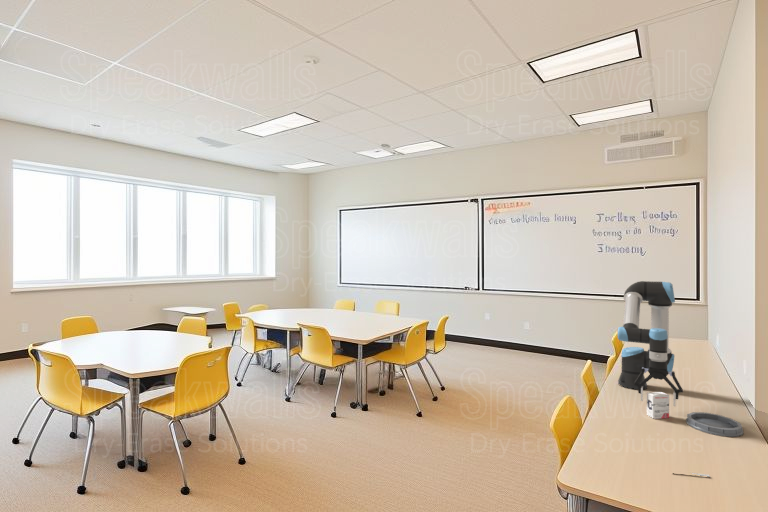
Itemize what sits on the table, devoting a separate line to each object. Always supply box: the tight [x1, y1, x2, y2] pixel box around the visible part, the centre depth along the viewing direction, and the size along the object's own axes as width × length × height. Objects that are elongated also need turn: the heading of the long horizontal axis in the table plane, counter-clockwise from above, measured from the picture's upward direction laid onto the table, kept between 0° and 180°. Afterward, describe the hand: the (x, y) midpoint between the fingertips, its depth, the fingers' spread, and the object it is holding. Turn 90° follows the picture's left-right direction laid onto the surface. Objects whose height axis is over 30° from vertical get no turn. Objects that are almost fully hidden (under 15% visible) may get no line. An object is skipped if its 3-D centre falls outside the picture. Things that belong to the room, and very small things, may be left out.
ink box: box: [646, 391, 670, 420], centre depth 208 cm, size 8×5×12 cm, turn 96°
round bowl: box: [685, 411, 744, 438], centre depth 197 cm, size 21×21×3 cm
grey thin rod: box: [691, 472, 711, 478], centre depth 155 cm, size 12×1×1 cm, turn 77°
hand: (657, 402), depth 208 cm, fingers open, 13 cm apart
